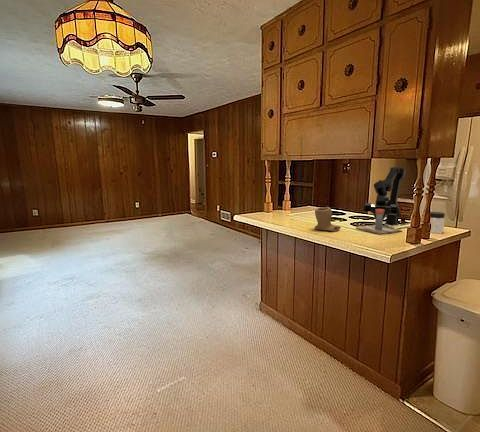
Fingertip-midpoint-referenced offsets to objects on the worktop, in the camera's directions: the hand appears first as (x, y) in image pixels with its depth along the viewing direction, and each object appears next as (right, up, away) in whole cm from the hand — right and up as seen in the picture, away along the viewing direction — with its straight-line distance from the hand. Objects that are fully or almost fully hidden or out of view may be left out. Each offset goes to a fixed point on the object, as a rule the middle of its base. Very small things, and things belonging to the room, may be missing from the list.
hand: (379, 219), depth 179 cm
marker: (+1, -6, +2) cm, 7 cm away
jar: (+36, -8, +4) cm, 37 cm away
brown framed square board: (+4, -7, +11) cm, 14 cm away
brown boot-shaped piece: (-29, -8, +12) cm, 32 cm away
